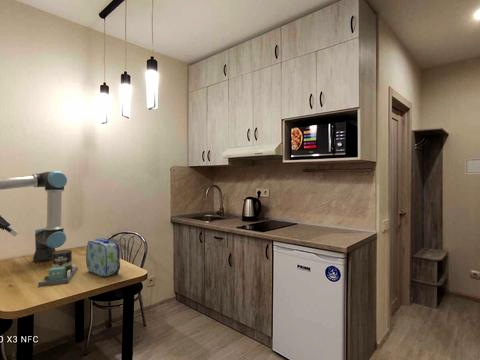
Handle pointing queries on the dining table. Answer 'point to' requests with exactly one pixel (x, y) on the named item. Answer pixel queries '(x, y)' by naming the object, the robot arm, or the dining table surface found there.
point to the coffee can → (62, 259)
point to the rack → (68, 277)
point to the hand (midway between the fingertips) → (16, 234)
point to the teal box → (57, 273)
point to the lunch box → (103, 257)
